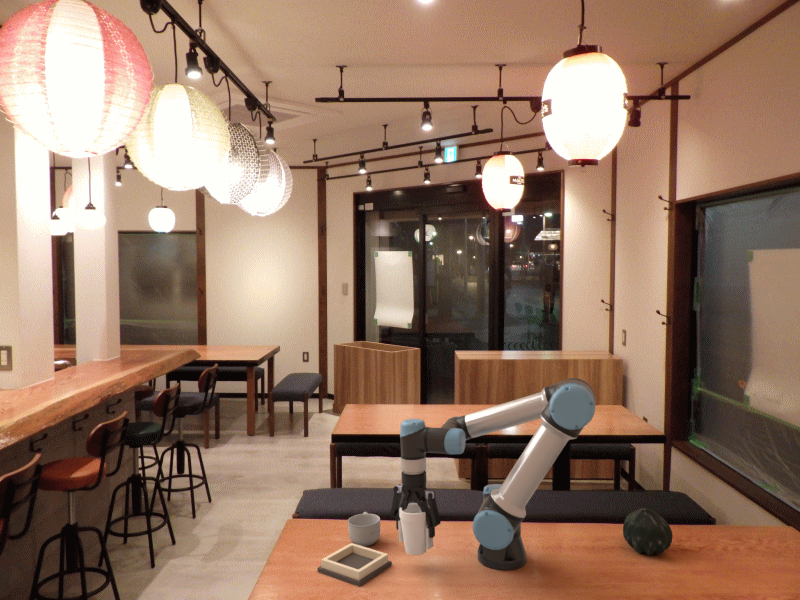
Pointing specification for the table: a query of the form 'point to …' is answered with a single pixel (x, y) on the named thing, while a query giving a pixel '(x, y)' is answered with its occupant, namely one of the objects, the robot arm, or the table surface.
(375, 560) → the tray
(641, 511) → the squash
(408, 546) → the foam cup
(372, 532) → the teacup
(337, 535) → the table surface
